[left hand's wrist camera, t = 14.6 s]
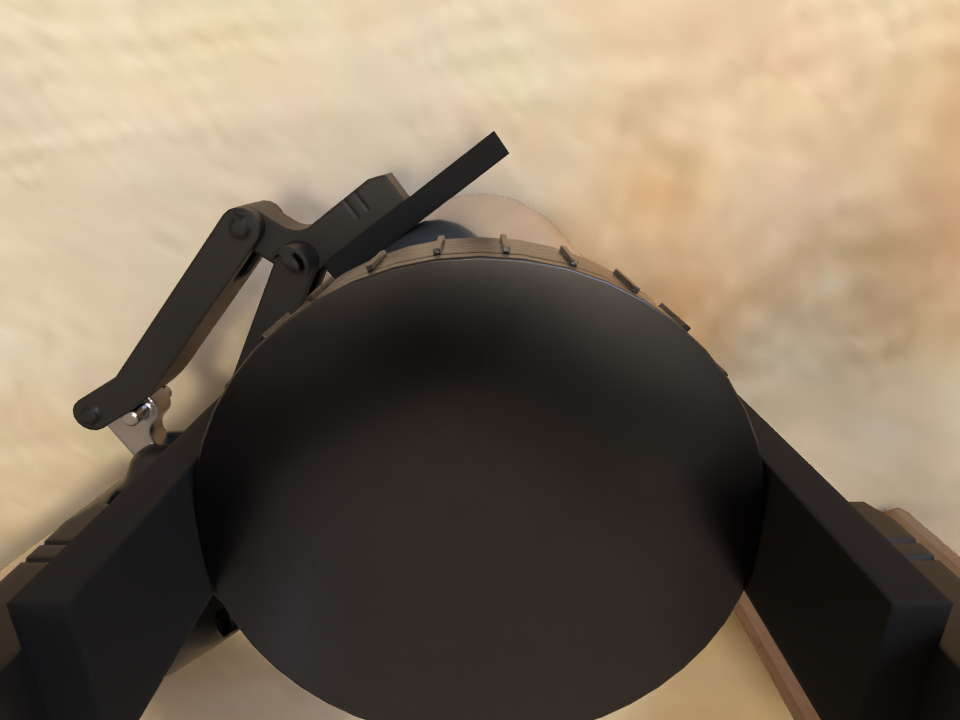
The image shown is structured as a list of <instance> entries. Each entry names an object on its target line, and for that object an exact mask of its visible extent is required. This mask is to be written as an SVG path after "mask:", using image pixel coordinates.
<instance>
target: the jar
mask: <svg viewBox="0 0 960 720" xmlns="http://www.w3.org/2000/svg"><path fill="white" fill-rule="evenodd" d="M500 234H506V235H507V239H517V240H522V241H527V242H532V243H537V244H542V245H547V246H552V247H555V248H558V249H560V246H561V245H563V246H566V247H567V248H568V249H569V251H570V252H571V253H572V254H575V255H578V256H581V257H583V258H584V256H583V255H582V254H581V253H580V252H579V251H578V250H577V249H576V248H575V247H574V246H573V245H572V244H571V242H570V241H569V240H568V239H567V238H566V237H565V236H564V235H563V234H562V233H561V232H560V231H559V230H558V228H557V227H556V226H555V225H553V224H552V223H551V222H550V221H549V220H548V219H547V218H546V217H545V216H543V215H542V214H540V213H539V212H537V211H536V210H535V209H533V208H531V207H529V206H527V205H525V204H523V203H521V202H518V201H515V200H512V199H510V198H506V197H501V196H496V195H485V194H475V195H464V196H459V197H454V198H451V199H449V200H448V201H447V202H445V203H444V204H443V205H441V206H440V207H439V208H438V209H436V210H435V211H434V212H432V213H431V214H430V215H428V216H427V217H426V218H425V219H423V220H422V221H421V222H419V223H418V224H417V225H415V226H414V227H413V228H412V229H410V230H409V231H408V232H406V233H405V234H404V235H402V236H401V237H400V238H399V239H397V240H396V241H395V242H393V243H392V244H391V245H389V246H388V247H387V248H385V249H384V250H385V251H386V254H388V253H390V252H393V251H396V250H399V249H402V248H405V247H408V246H413V245H418V244H423V243H428V242H433V241H437V239H438V236H442V235H444V236H445V239H456V238H472V237H488V238H500Z"/></svg>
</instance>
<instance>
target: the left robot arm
mask: <svg viewBox="0 0 960 720" xmlns="http://www.w3.org/2000/svg"><path fill="white" fill-rule="evenodd" d="M737 395H738V394H737ZM221 396H222V395H221ZM221 396H220V397H221ZM220 397H219V398H218V399H217V400H216V401H215V402H214V403H213V404H212V405H211V406H210V407H209V408H208V409H207V410H205V411H204V412H203V413H202V414H201V415H200V416H199V417H198V418H197V419H196V420H195V421H194V422H193V423H192V424H191V425H190V426H189V427H188V428H187V429H186V430H185V431H184V432H183V433H182V434H181V435H180V436H179V437H178V438H177V439H176V440H175V441H174V442H173V443H171V444H170V445H169V446H168V447H167V448H166V449H165V450H164V451H163V452H162V453H161V454H160V455H159V456H158V457H157V458H156V459H155V460H154V461H153V462H152V463H151V464H150V465H149V466H148V467H147V468H146V469H145V470H144V471H143V472H142V473H141V474H140V475H138V476H137V477H136V478H135V479H134V480H133V481H132V482H131V483H130V484H129V485H128V486H127V487H126V488H125V489H124V490H123V491H122V492H121V493H120V494H119V495H118V496H117V497H116V498H115V499H114V500H113V501H112V502H111V503H110V504H96V505H94V506H92V507H90V508H88V509H87V510H85V511H83V512H81V513H80V514H78V515H76V516H74V517H73V518H71V519H69V520H67V521H66V522H65V523H64V524H63V525H61V526H60V527H59V528H58V529H57V530H56V531H55V532H54V533H53V534H52V535H51V536H49V537H48V538H47V539H46V540H45V541H44V545H40V546H38V547H37V548H36V549H35V550H34V551H33V552H32V553H31V554H30V555H29V556H27V557H26V561H25V562H21V563H20V564H19V565H18V566H16V567H15V568H14V569H13V570H12V571H11V572H10V573H9V574H8V575H7V576H6V577H4V578H3V579H2V580H1V581H0V720H139V719H140V717H141V716H142V714H143V712H144V711H145V709H146V707H147V705H148V704H149V702H150V700H151V699H152V697H153V695H154V694H155V692H156V690H157V689H158V687H159V685H160V683H161V682H162V680H163V678H164V677H165V675H166V673H167V672H168V670H169V668H170V667H171V665H172V663H173V662H174V660H175V658H176V656H177V655H178V653H179V651H180V650H181V648H182V646H183V645H184V643H185V641H186V640H187V638H188V636H189V635H190V633H191V631H192V629H193V628H194V626H195V624H196V623H197V621H198V619H199V618H200V616H201V614H202V613H203V611H204V609H205V607H206V606H207V604H208V602H209V601H210V599H211V597H212V596H213V594H214V592H215V591H216V589H215V587H214V585H213V583H212V580H211V578H210V576H209V573H208V571H207V569H206V565H205V562H204V558H203V555H202V550H201V545H200V541H199V536H198V530H197V524H196V517H195V508H194V502H195V477H196V469H197V464H198V459H199V454H200V449H201V444H202V440H203V437H204V435H205V432H206V429H207V426H208V424H209V421H210V418H211V416H212V413H213V410H214V408H215V406H216V405H217V403H218V401H219V399H220ZM738 397H739V398H740V400H741V402H742V404H743V406H744V407H745V409H746V412H747V414H748V417H749V420H750V422H751V425H752V428H753V431H754V433H755V436H756V439H757V441H758V446H759V451H760V456H761V462H762V467H763V472H764V488H765V513H764V522H763V528H762V534H761V539H760V544H759V548H758V553H757V557H756V560H755V564H754V567H753V570H752V572H751V575H750V577H749V579H748V582H747V584H746V586H745V588H744V591H745V593H746V595H747V596H748V598H749V600H750V601H751V603H752V605H753V606H754V608H755V610H756V611H757V613H758V615H759V617H760V618H761V620H762V622H763V623H764V625H765V627H766V628H767V630H768V632H769V633H770V635H771V637H772V638H773V640H774V642H775V644H776V645H777V647H778V649H779V650H780V652H781V654H782V655H783V657H784V659H785V660H786V662H787V664H788V666H789V667H790V669H791V671H792V672H793V674H794V676H795V677H796V679H797V681H798V682H799V684H800V686H801V687H802V689H803V691H804V693H805V694H806V696H807V698H808V699H809V701H810V703H811V704H812V706H813V708H814V709H815V711H816V713H817V715H818V716H819V718H820V720H960V578H958V577H957V576H956V575H955V574H954V573H953V572H952V571H951V570H950V569H948V568H947V567H946V566H945V565H944V564H943V563H942V562H941V561H940V560H935V558H934V555H933V554H932V553H931V552H930V551H929V550H927V549H926V548H925V547H924V546H923V545H922V544H921V543H916V539H915V538H914V537H913V536H912V535H911V534H910V533H909V532H908V531H906V530H905V529H904V528H903V527H902V526H901V525H900V524H899V523H898V522H897V521H895V520H894V519H893V518H891V517H889V516H888V515H886V514H884V513H882V512H881V511H879V510H877V509H875V508H873V507H872V506H870V505H868V504H866V503H865V502H848V501H847V500H846V499H845V498H844V497H843V496H842V495H841V494H840V493H839V492H838V491H837V490H836V489H835V488H833V487H832V486H831V485H830V484H829V483H828V482H827V481H826V480H825V479H824V478H823V477H822V476H821V475H820V474H819V473H818V472H817V471H816V470H815V469H814V468H813V467H812V466H811V465H810V464H809V463H808V462H807V461H806V460H805V459H804V458H803V457H802V456H801V455H799V454H798V453H797V452H796V451H795V450H794V449H793V448H792V447H791V446H790V445H789V444H788V443H787V442H786V441H785V440H784V439H783V438H782V437H781V436H780V435H779V434H778V433H777V432H776V431H775V430H774V429H773V428H772V427H771V426H770V425H769V424H768V423H767V422H765V421H764V420H763V419H762V418H761V417H760V416H759V415H758V414H757V413H756V412H755V411H754V410H753V409H752V408H751V407H750V406H749V405H748V404H747V403H746V402H745V401H744V400H743V399H742V398H741V397H740V396H739V395H738Z"/></svg>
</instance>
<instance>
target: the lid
mask: <svg viewBox="0 0 960 720" xmlns="http://www.w3.org/2000/svg"><path fill="white" fill-rule="evenodd" d="M306 298H307V299H308V300H307V301H306V302H305V303H304V304H303V305H302V306H300V307H299V308H298V309H297V310H296V311H295V312H294V313H293V314H290V313H289V312H288V313H287V314H285V315H284V316H283V317H282V318H281V319H280V320H279V321H277V322H276V323H275V324H274V325H273V326H272V327H271V328H269V329H268V330H267V331H266V332H265V333H264V334H263V335H262V336H261V337H260V338H259V340H260V341H261V343H260V344H259V345H258V346H257V347H256V348H255V349H254V350H253V351H252V353H251V354H250V355H249V356H248V358H247V359H246V360H245V361H244V363H243V364H242V365H241V367H240V368H239V369H238V370H237V372H236V373H235V374H234V375H233V377H232V378H231V380H230V381H229V382H228V383H227V384H226V386H225V388H226V389H225V390H224V392H223V394H222V396H221V397H220V399H219V401H218V403H217V405H216V406H215V408H214V410H213V413H212V416H211V418H210V421H209V424H208V426H207V429H206V432H205V435H204V437H203V440H202V444H201V449H200V454H199V459H198V464H197V469H196V477H195V502H194V508H195V517H196V524H197V530H198V536H199V541H200V545H201V550H202V555H203V558H204V562H205V565H206V569H207V571H208V573H209V576H210V578H211V580H212V583H213V585H214V587H215V589H216V592H217V594H218V596H219V598H220V600H221V601H222V603H223V604H224V606H225V608H226V609H227V611H228V613H229V614H230V616H231V618H232V619H233V621H234V622H235V624H236V625H237V626H238V628H239V629H240V630H241V631H242V632H243V634H244V635H245V636H246V637H247V639H248V640H249V641H250V642H251V644H252V645H253V646H254V647H255V648H256V649H257V650H258V651H259V652H260V653H261V654H262V655H263V656H264V657H265V658H266V659H267V660H268V661H269V662H270V663H271V664H272V665H273V666H274V667H275V668H277V669H278V670H279V671H280V672H282V673H283V674H284V675H286V676H287V677H288V678H290V679H291V680H292V681H294V682H295V683H296V684H297V685H299V686H300V687H301V688H303V689H305V690H306V691H308V692H310V693H311V694H313V695H315V696H316V697H318V698H320V699H321V700H323V701H325V702H326V703H328V704H330V705H332V706H334V707H337V708H339V709H341V710H343V711H345V712H347V713H349V714H352V715H354V716H356V717H359V718H361V719H364V720H595V719H598V718H601V717H604V716H606V715H608V714H610V713H612V712H615V711H617V710H619V709H621V708H623V707H625V706H627V705H630V704H632V703H633V702H635V701H637V700H638V699H640V698H642V697H643V696H645V695H647V694H648V693H650V692H652V691H653V690H655V689H657V688H658V687H660V686H661V685H662V684H663V683H665V682H666V681H667V680H669V679H670V678H671V677H673V676H674V675H675V674H677V673H678V672H679V671H681V670H682V669H683V668H684V667H685V666H686V665H687V664H688V663H689V662H690V661H691V660H692V659H693V658H695V657H696V656H697V655H698V654H699V653H700V652H701V651H702V650H703V649H704V648H705V647H706V646H707V644H708V643H709V642H710V641H711V639H712V638H713V637H714V636H715V634H716V633H717V632H718V631H719V630H720V628H721V627H722V626H723V625H724V623H725V622H726V620H727V619H728V617H729V615H730V614H731V612H732V610H733V609H734V607H735V606H736V604H737V602H738V601H739V599H740V597H741V595H742V593H743V591H744V588H745V586H746V584H747V582H748V579H749V577H750V575H751V572H752V570H753V567H754V564H755V560H756V557H757V553H758V548H759V544H760V539H761V534H762V528H763V522H764V513H765V488H764V472H763V467H762V462H761V456H760V451H759V446H758V441H757V439H756V436H755V433H754V431H753V428H752V425H751V422H750V420H749V417H748V414H747V412H746V409H745V407H744V406H743V404H742V402H741V400H740V398H739V397H738V395H737V393H736V391H735V389H734V388H733V386H732V384H731V382H730V381H729V379H728V377H727V376H728V374H727V373H726V371H725V370H724V369H723V368H721V367H720V366H719V365H718V364H717V363H716V362H715V361H714V360H713V358H712V357H711V356H710V354H709V353H708V352H707V351H706V349H705V348H704V347H702V346H701V345H700V344H699V343H698V342H697V341H696V340H695V339H694V338H693V337H692V336H691V335H690V334H689V333H688V331H689V330H690V329H691V328H690V327H689V326H688V325H687V324H686V323H685V322H684V321H682V320H681V319H680V318H679V317H678V316H677V315H676V314H674V313H673V312H672V311H671V310H670V309H669V308H667V307H666V306H665V305H664V304H663V303H661V304H660V305H659V306H658V305H657V304H656V303H655V302H654V301H653V300H651V299H650V298H649V297H648V296H647V295H646V294H645V293H643V292H642V291H640V288H638V287H637V286H636V285H635V284H634V283H633V282H632V281H631V280H630V279H628V278H627V277H626V276H625V275H624V274H623V273H622V272H621V271H619V270H617V269H615V271H614V272H612V271H610V270H608V269H606V268H604V267H602V266H600V265H598V264H596V263H594V262H592V261H590V260H588V259H586V258H583V257H581V256H578V255H575V254H572V253H571V252H570V251H569V249H568V248H567V247H566V246H563V245H561V246H560V249H558V248H555V247H552V246H547V245H542V244H537V243H532V242H527V241H522V240H517V239H507V235H506V234H500V238H488V237H472V238H456V239H445V236H444V235H442V236H438V239H437V241H433V242H428V243H423V244H418V245H413V246H408V247H405V248H402V249H399V250H396V251H393V252H390V253H388V254H386V251H385V250H382V251H380V252H379V253H378V254H377V255H376V256H375V257H374V258H373V259H371V260H369V261H367V262H365V263H364V264H362V265H360V266H358V267H356V268H354V269H352V270H350V271H348V272H346V273H344V274H342V275H341V276H339V277H338V278H336V279H335V280H334V278H333V277H332V276H331V277H329V278H328V279H327V280H325V281H324V282H323V283H322V284H321V285H320V286H319V287H317V288H316V289H315V290H314V291H313V292H312V293H311V294H309V295H308V296H307V297H306Z"/></svg>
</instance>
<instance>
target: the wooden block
mask: <svg viewBox="0 0 960 720" xmlns="http://www.w3.org/2000/svg"><path fill="white" fill-rule="evenodd" d="M884 514H886V515H888V516H889V517H891V518H893V519H894V520H895V521H897V522H898V523H899V524H900V525H901V526H902V527H903V528H904V529H905V530H906V531H908V532H909V533H910V534H911V535H912V536H913V537H914V538H915V539H916V543H921V544H922V545H923V546H924V547H925V548H926V549H927V550H929V551H930V552H931V553H932V554H933V555H934V558H935V560H940V561H941V562H942V563H943V564H944V565H945V566H946V567H947V568H948V569H950V570H951V571H952V572H953V573H954V574H955V575H956V576H957V577H958V578H960V557H959V556H958V555H957V554H956V553H955V552H953V551H952V550H951V549H950V548H949V547H948V546H947V545H945V544H944V543H943V542H942V541H941V540H940V539H938V538H937V537H936V536H935V535H934V534H933V533H931V532H930V531H929V530H928V529H927V528H926V527H924V526H923V525H922V524H921V523H920V522H919V521H917V520H916V519H915V518H914V517H913V516H912V515H910V514H909V513H908V512H906V511H904V510H903V509H900V508H895V509H891V510H889V511H887V512H885V513H884ZM734 610H735V612H736V614H737V616H738V618H739V620H740V621H741V623H742V625H743V627H744V629H745V631H746V632H747V634H748V636H749V638H750V640H751V642H752V643H753V645H754V647H755V649H756V651H757V653H758V654H759V656H760V658H761V660H762V662H763V664H764V665H765V667H766V669H767V671H768V673H769V675H770V676H771V678H772V680H773V682H774V684H775V686H776V687H777V689H778V691H779V693H780V695H781V696H782V698H783V700H784V702H785V704H786V706H787V707H788V709H789V711H790V713H791V715H792V717H793V718H794V720H820V718H819V716H818V715H817V713H816V711H815V709H814V708H813V706H812V704H811V703H810V701H809V699H808V698H807V696H806V694H805V693H804V691H803V689H802V687H801V686H800V684H799V682H798V681H797V679H796V677H795V676H794V674H793V672H792V671H791V669H790V667H789V666H788V664H787V662H786V660H785V659H784V657H783V655H782V654H781V652H780V650H779V649H778V647H777V645H776V644H775V642H774V640H773V638H772V637H771V635H770V633H769V632H768V630H767V628H766V627H765V625H764V623H763V622H762V620H761V618H760V617H759V615H758V613H757V611H756V610H755V608H754V606H753V605H752V603H751V601H750V600H749V598H748V596H747V595H746V593H745V591H743V593H742V595H741V597H740V599H739V601H738V602H737V604H736V606H735V607H734Z"/></svg>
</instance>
